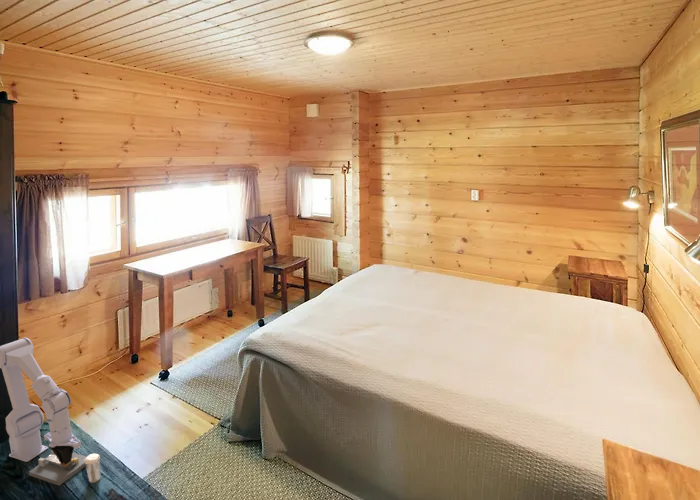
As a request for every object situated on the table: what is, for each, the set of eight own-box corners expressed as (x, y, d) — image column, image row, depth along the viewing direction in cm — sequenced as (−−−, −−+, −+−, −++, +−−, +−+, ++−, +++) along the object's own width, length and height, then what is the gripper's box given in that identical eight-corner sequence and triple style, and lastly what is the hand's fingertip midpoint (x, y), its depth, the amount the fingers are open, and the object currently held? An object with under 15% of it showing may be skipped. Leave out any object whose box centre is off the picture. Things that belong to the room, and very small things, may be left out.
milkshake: (97, 485, 138) (93, 460, 136) (83, 483, 139) (80, 457, 137) (107, 476, 142) (104, 450, 140) (94, 473, 143) (91, 448, 141)
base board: (29, 475, 142) (27, 465, 141) (62, 452, 153) (61, 443, 152) (59, 485, 138) (57, 475, 137) (91, 461, 149) (90, 451, 148)
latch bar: (43, 460, 145) (43, 457, 145) (51, 455, 148) (51, 452, 148) (66, 468, 142) (65, 464, 142) (73, 462, 145) (73, 459, 144)
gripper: (33, 429, 139) (39, 464, 142) (64, 438, 135) (70, 474, 138) (53, 417, 146) (58, 451, 149) (84, 425, 141) (89, 460, 144)
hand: (65, 461), depth 144 cm, fingers closed
